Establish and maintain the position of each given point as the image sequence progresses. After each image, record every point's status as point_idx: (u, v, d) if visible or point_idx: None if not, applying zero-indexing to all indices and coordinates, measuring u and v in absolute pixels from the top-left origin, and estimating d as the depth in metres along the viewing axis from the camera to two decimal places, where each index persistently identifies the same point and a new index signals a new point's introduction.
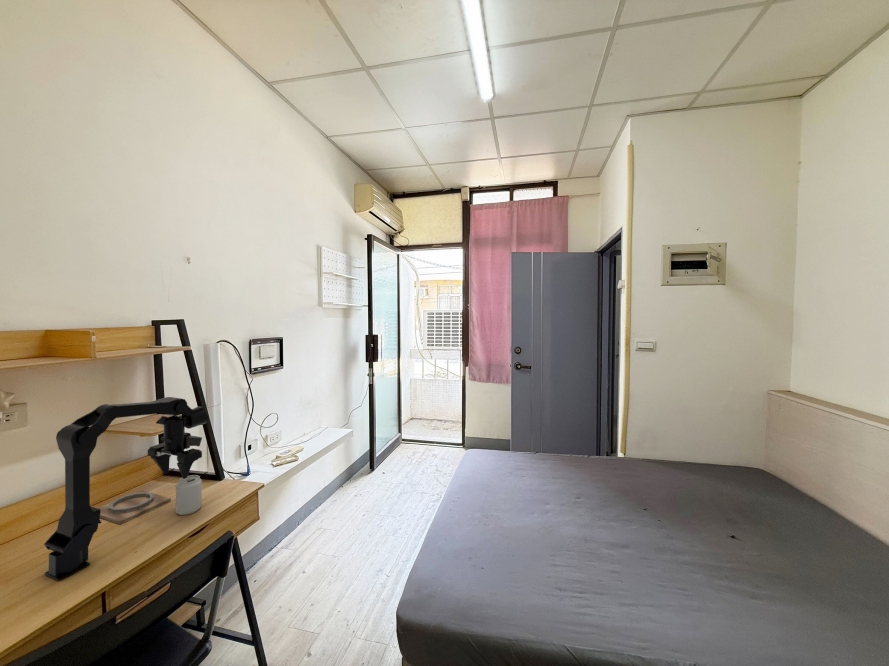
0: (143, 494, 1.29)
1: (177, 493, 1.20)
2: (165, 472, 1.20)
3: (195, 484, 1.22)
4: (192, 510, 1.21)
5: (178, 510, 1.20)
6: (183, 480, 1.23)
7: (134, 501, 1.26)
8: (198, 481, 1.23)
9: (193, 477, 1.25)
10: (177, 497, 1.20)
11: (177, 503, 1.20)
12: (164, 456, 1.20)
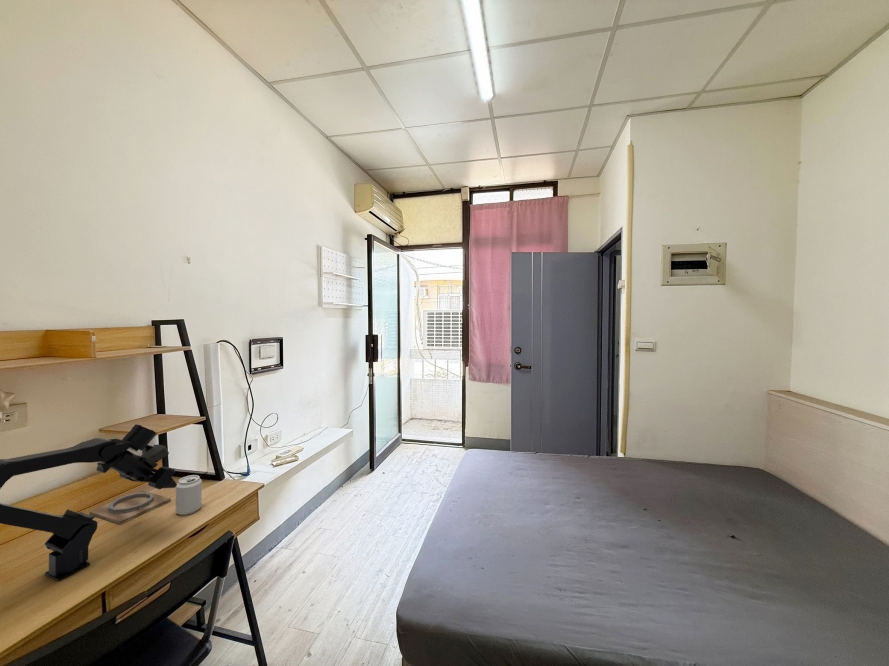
0: (143, 494, 1.29)
1: (177, 493, 1.20)
2: None
3: (194, 484, 1.22)
4: (192, 510, 1.21)
5: (178, 510, 1.20)
6: (183, 480, 1.23)
7: (134, 501, 1.26)
8: (198, 481, 1.23)
9: (193, 477, 1.25)
10: (177, 497, 1.20)
11: (177, 503, 1.20)
12: None
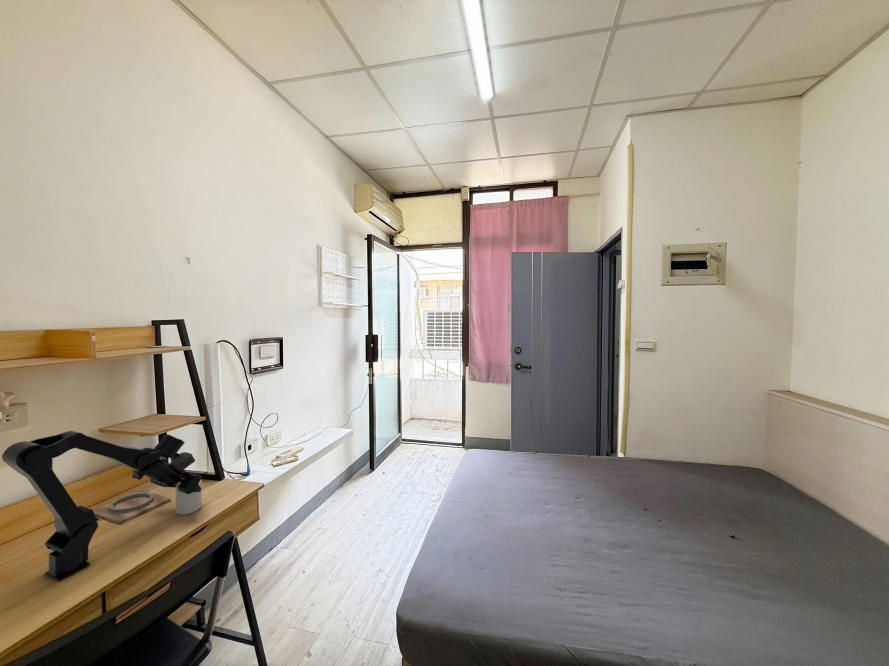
0: (143, 494, 1.29)
1: (177, 493, 1.20)
2: None
3: None
4: (192, 510, 1.21)
5: (178, 510, 1.20)
6: None
7: (134, 501, 1.26)
8: None
9: None
10: (177, 497, 1.20)
11: (177, 503, 1.20)
12: None
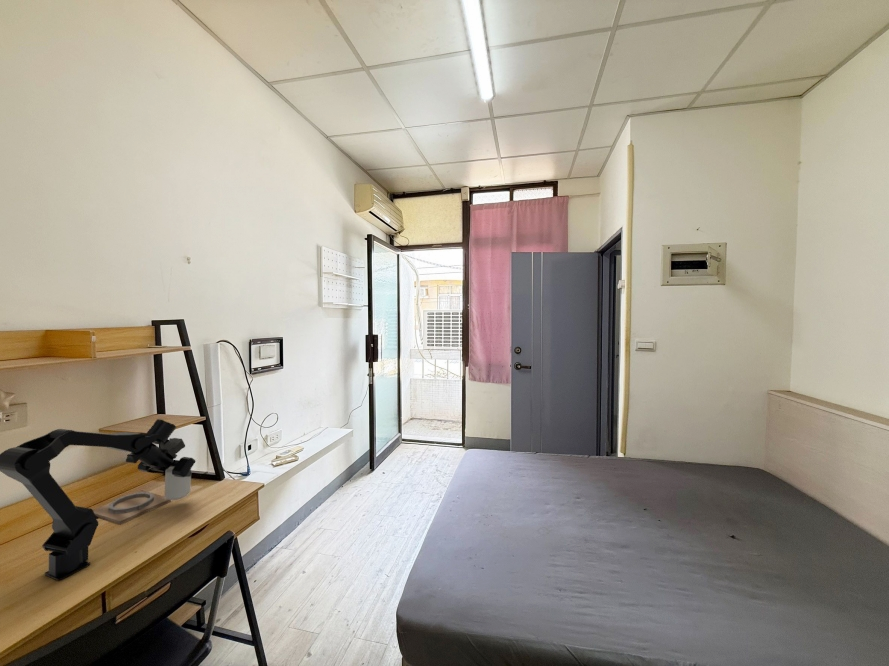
0: (143, 494, 1.29)
1: (167, 478, 1.21)
2: None
3: None
4: (183, 494, 1.23)
5: (168, 495, 1.21)
6: None
7: (134, 501, 1.26)
8: None
9: None
10: (167, 482, 1.21)
11: (167, 488, 1.21)
12: None
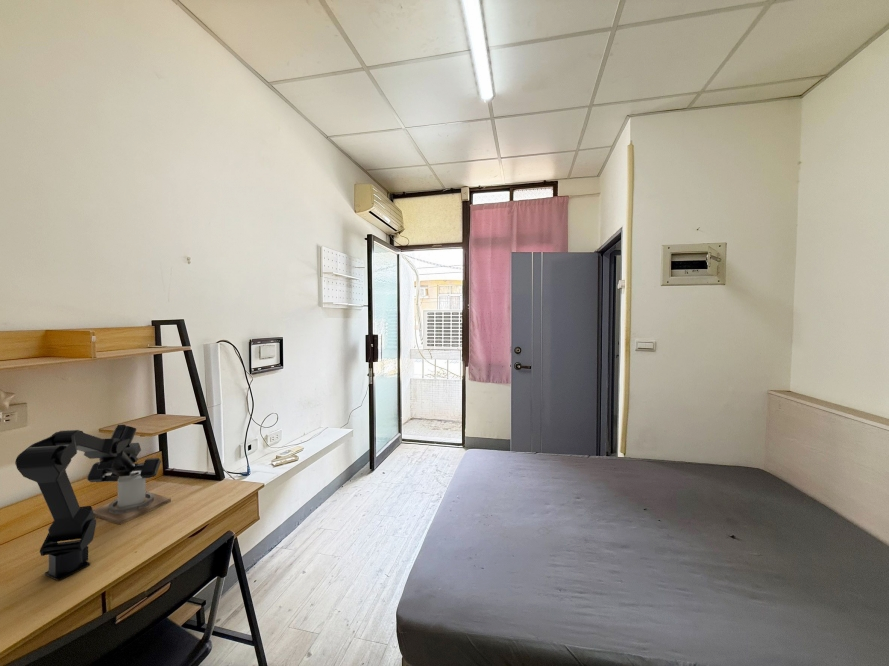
0: None
1: (124, 488, 1.19)
2: (117, 480, 1.22)
3: None
4: (142, 501, 1.23)
5: (127, 504, 1.20)
6: (125, 476, 1.22)
7: None
8: None
9: (132, 472, 1.25)
10: (124, 492, 1.20)
11: (125, 498, 1.20)
12: None
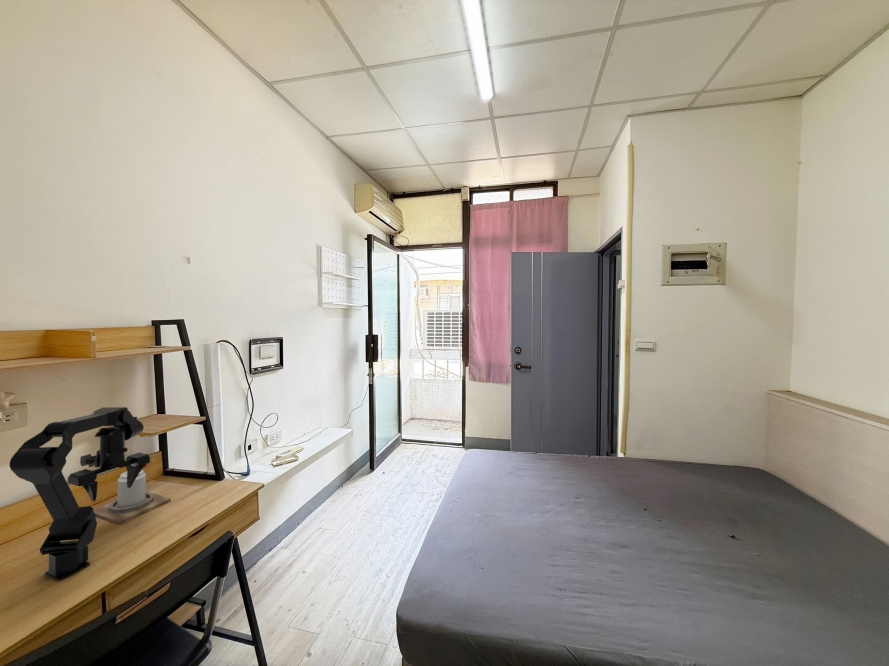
0: None
1: (124, 488, 1.20)
2: None
3: (143, 475, 1.24)
4: (142, 501, 1.24)
5: (127, 504, 1.20)
6: (125, 475, 1.22)
7: None
8: (143, 473, 1.25)
9: None
10: (124, 492, 1.20)
11: (125, 498, 1.20)
12: None
